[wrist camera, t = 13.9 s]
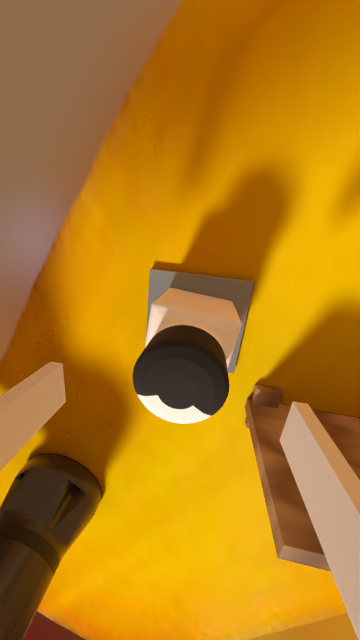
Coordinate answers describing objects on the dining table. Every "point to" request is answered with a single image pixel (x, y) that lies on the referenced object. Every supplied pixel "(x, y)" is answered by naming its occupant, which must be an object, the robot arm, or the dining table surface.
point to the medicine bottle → (186, 356)
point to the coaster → (209, 286)
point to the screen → (277, 478)
